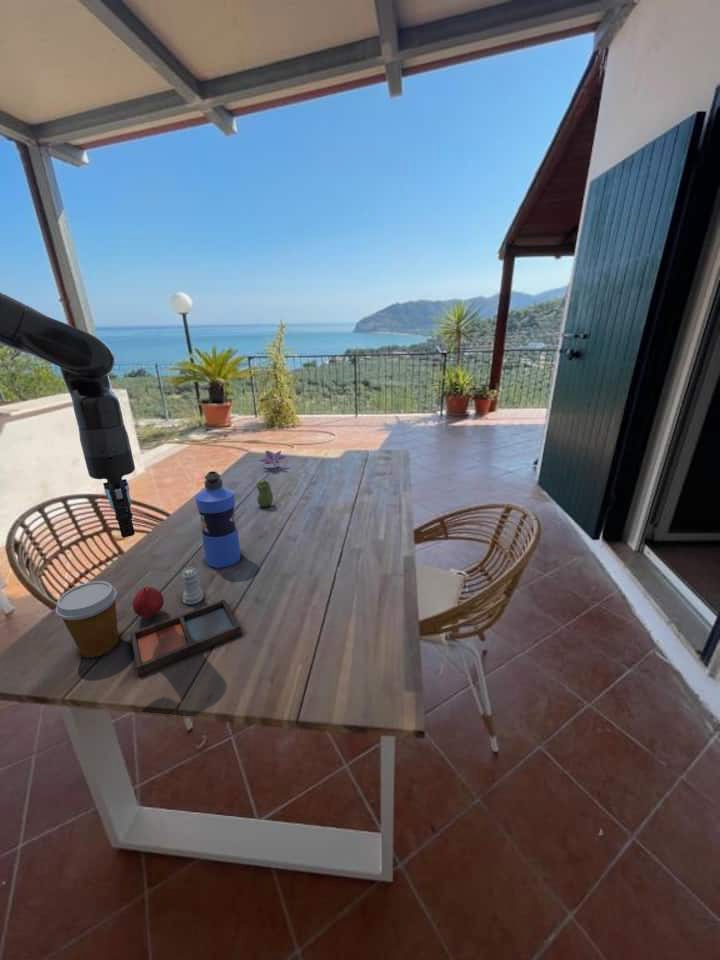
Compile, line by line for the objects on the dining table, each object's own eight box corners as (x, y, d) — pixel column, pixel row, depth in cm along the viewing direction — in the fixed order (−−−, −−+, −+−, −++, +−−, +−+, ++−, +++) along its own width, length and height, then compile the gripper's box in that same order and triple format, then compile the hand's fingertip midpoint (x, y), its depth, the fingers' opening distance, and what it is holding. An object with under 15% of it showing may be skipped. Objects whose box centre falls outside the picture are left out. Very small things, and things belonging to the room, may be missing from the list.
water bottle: (207, 571, 101) (193, 481, 92) (204, 554, 109) (191, 469, 100) (243, 563, 105) (233, 475, 96) (238, 547, 112) (228, 465, 104)
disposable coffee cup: (97, 669, 71) (81, 616, 67) (58, 657, 73) (40, 605, 69) (138, 634, 79) (127, 584, 75) (102, 624, 82) (89, 576, 78)
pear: (267, 510, 136) (264, 483, 133) (254, 508, 138) (252, 481, 135) (276, 504, 141) (274, 478, 138) (263, 502, 143) (261, 476, 140)
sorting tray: (139, 676, 69) (136, 667, 69) (132, 640, 78) (129, 632, 77) (241, 634, 79) (240, 626, 79) (225, 606, 88) (224, 598, 87)
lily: (292, 469, 182) (286, 449, 183) (285, 467, 171) (279, 446, 171) (268, 476, 183) (262, 457, 184) (259, 475, 172) (253, 454, 172)
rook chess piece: (194, 591, 93) (189, 562, 90) (208, 596, 91) (203, 567, 88) (179, 602, 89) (173, 572, 86) (193, 608, 87) (187, 577, 84)
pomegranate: (131, 619, 84) (123, 587, 81) (157, 604, 88) (150, 574, 85) (145, 629, 81) (137, 597, 78) (171, 614, 85) (165, 583, 82)
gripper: (82, 444, 75) (101, 519, 81) (84, 462, 64) (106, 548, 70) (126, 438, 79) (141, 510, 85) (135, 455, 68) (152, 536, 74)
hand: (126, 527), depth 78 cm, fingers open, 8 cm apart
